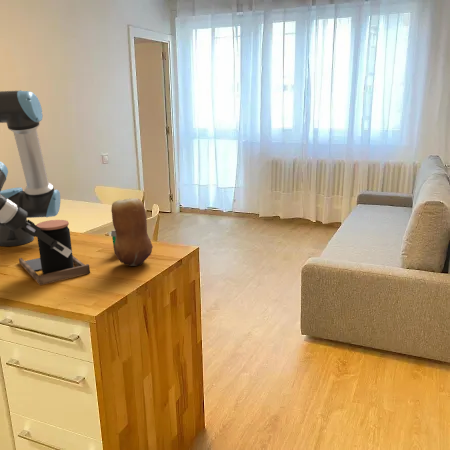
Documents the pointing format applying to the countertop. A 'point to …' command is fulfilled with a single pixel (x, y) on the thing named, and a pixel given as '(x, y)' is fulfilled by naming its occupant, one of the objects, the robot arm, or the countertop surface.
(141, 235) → the butternut squash
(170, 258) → the countertop surface
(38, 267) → the front mat
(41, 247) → the coffee jar
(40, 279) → the bay
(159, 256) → the countertop surface
